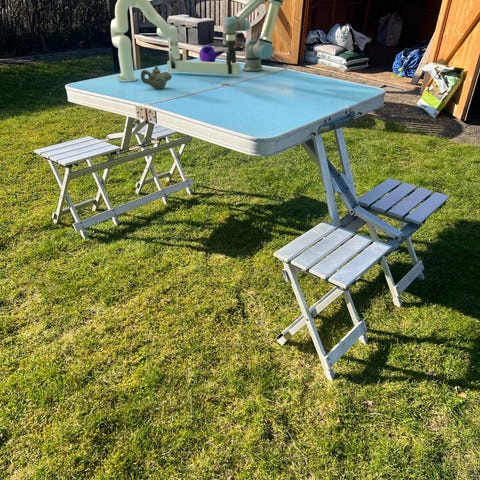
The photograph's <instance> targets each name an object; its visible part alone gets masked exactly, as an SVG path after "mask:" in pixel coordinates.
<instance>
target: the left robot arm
mask: <svg viewBox="0 0 480 480" xmlns="http://www.w3.org/2000/svg"><path fill="white" fill-rule="evenodd" d="M129 8H137V9H139V10H140V11H141V13H142V14H143V15H144V16H145V18H146V19H147V20H148V21H149V22H150V23H152V24H153V25H154V26H156V27H157V28H156V34H157V36H159V37H160V38H163V39H167V41H168V42H167V43H168V57H169V58H168V61H170V62H171V68H172V69H175V63H174V61H175V60H177V61H180V59H181V52H180V51H181V50H180V46H179V35H178V27H177V26H174V25H169V24H168V22H167V21H166V20H165V19H164V18H163V17H162V16H161V15H160V14H159V13H158V12H157V11H156V9H155V8H154V6H153V5H152V4H151V2H150V0H117V1H116V3H115V7H114V18H113V19H112V20H111V23H110V36H111V42H112V45H113V46H114V47H115V48H117V49H118V53H117V56H118V62H119V67H120V68H119V69H120V74H119V75H115V76H114V78H115V79H117V80H119V81H120V82H123V83H126V82H128V83H130V82H135V81H137V79H138V78H137V77H135V71H134V63H133V55H132V41H131V39H130V38H129V36H127V35H125V33H127V32H128V30H129V20H128V12H129V11H128V10H129Z"/></svg>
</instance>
